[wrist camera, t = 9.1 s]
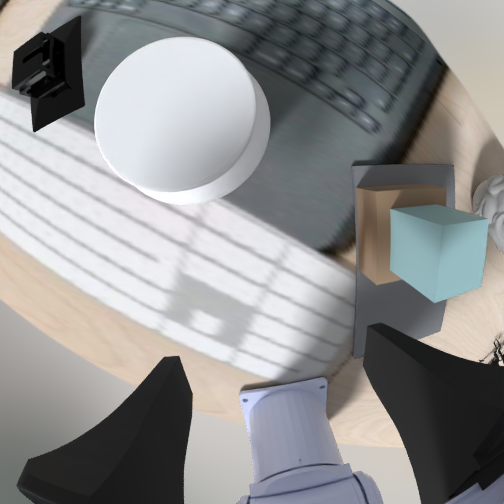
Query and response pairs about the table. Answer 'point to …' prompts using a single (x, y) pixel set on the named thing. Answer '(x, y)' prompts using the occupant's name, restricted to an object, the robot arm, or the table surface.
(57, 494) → the robot arm
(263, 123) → the pill bottle
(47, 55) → the black bracket
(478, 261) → the teal block
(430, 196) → the walnut slab
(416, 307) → the mat
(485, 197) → the grey rounded lumpy piece
